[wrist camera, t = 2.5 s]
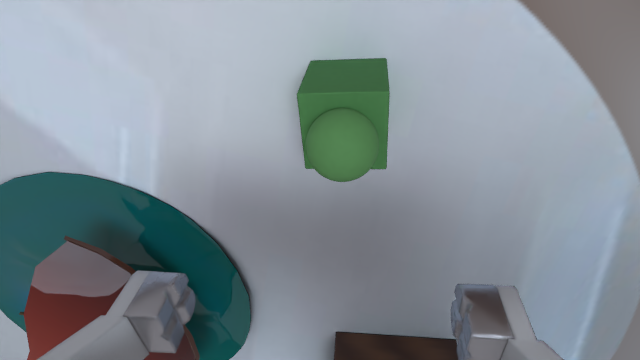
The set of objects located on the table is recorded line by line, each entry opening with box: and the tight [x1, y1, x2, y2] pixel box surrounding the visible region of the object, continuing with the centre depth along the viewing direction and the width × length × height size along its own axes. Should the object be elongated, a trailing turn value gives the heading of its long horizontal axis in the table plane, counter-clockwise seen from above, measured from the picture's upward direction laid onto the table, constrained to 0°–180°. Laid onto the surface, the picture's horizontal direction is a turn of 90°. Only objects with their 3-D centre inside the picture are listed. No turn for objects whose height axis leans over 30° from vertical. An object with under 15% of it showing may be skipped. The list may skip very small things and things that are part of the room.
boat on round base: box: [0, 172, 251, 360], centre depth 34 cm, size 28×28×11 cm
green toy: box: [297, 58, 389, 182], centre depth 20 cm, size 4×4×8 cm
